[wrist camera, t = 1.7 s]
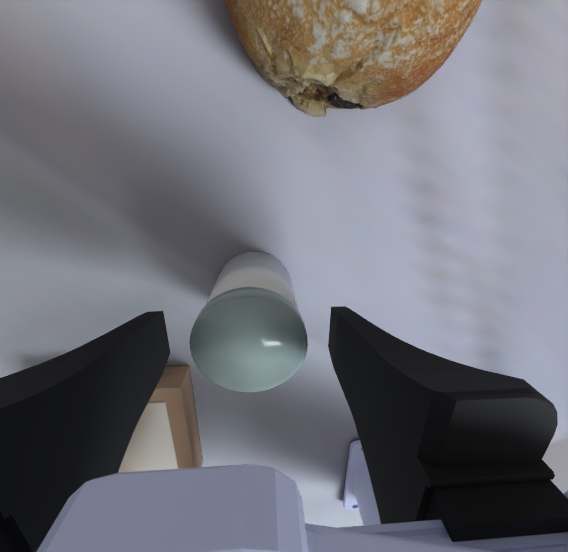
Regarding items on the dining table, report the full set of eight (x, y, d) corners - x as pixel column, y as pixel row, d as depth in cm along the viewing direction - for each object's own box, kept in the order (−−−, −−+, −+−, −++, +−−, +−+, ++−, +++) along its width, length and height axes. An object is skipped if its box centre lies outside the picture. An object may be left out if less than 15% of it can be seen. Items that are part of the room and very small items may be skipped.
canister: (293, 249, 16) (309, 291, 10) (292, 319, 17) (305, 390, 12) (212, 250, 15) (182, 294, 10) (219, 321, 17) (196, 394, 11)
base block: (189, 365, 18) (179, 388, 16) (202, 460, 21) (196, 489, 19) (45, 370, 17) (17, 395, 15) (81, 467, 21) (62, 498, 19)
